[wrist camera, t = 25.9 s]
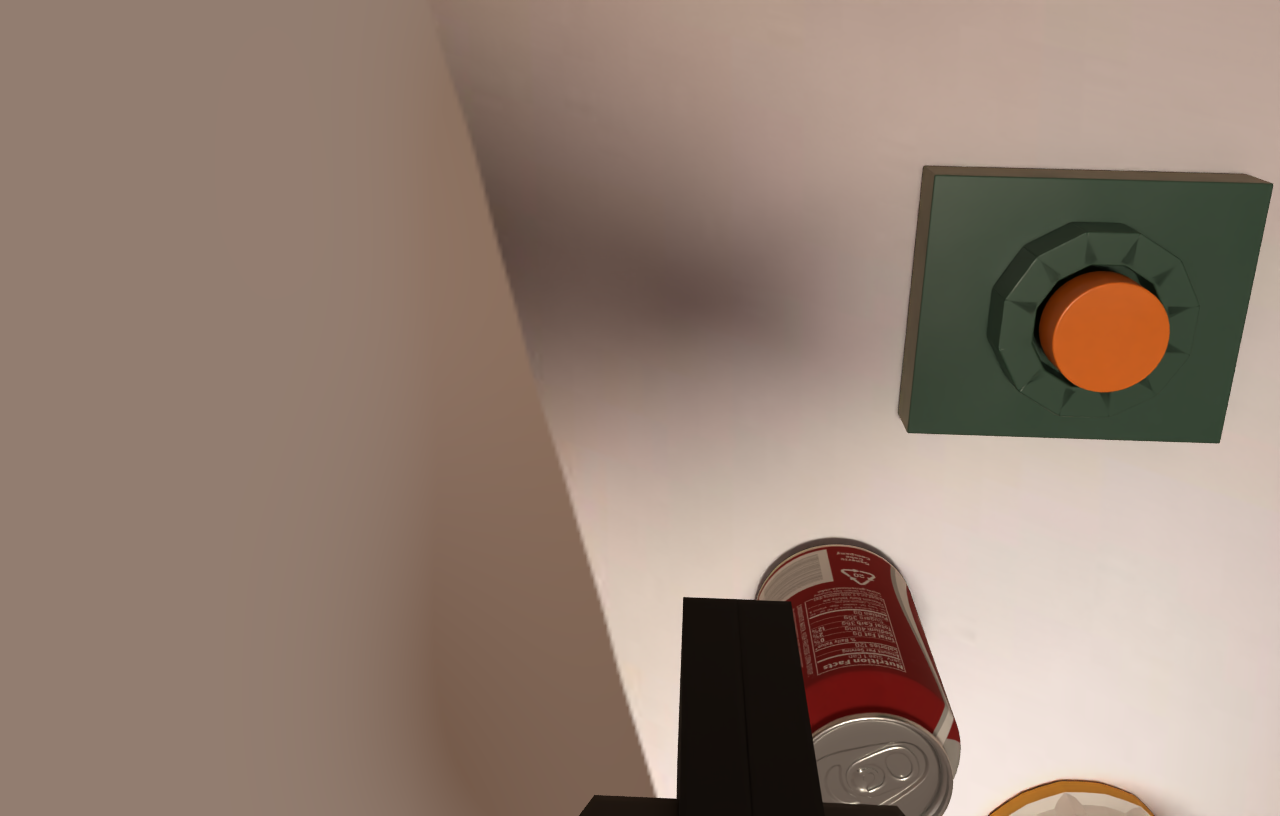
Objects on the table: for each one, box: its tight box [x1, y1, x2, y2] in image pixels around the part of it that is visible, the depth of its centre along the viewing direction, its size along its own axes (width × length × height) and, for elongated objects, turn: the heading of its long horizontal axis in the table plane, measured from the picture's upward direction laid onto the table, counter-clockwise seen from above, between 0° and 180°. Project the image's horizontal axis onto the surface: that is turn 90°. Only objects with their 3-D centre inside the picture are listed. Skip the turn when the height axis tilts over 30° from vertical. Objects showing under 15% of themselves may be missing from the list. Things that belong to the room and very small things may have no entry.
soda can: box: [757, 544, 961, 816], centre depth 45 cm, size 7×7×12 cm
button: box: [1039, 271, 1170, 392], centre depth 41 cm, size 4×4×2 cm
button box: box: [898, 166, 1273, 443], centre depth 43 cm, size 12×10×4 cm
